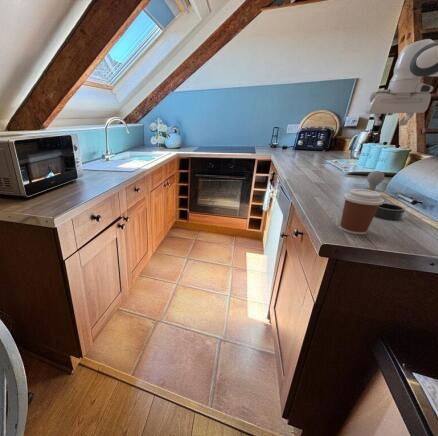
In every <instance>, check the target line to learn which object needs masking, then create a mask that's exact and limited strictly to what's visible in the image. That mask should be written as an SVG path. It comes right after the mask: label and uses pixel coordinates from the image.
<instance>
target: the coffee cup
mask: <svg viewBox="0 0 438 436" xmlns="http://www.w3.org/2000/svg"><path fill="white" fill-rule="evenodd" d="M342 198H343V200H344V204H343V208H342V214H341V219H340V224H339V229H340V230H342V231H344V232H346V233H350V234H354V235H366V233H367V232H368V231H369V228H370V226H371V224H372V222H373V220H374V217H375V216H374V215H375V213H376V211H377V209H378V207H379V205H382V204H383V203H385V200H384V199H383V198H382V194H381V192H378V191H376V190H374V191H372V190H368V189H365V188H352V189H350V190H349V191H348V192H347V193H344V195H343V196H342Z"/></svg>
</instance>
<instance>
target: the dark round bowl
mask: <svg viewBox="0 0 438 436" xmlns="http://www.w3.org/2000/svg"><path fill="white" fill-rule="evenodd" d="M405 211H406V209H405V207H402V206H400V205H397V204H392V203H386V202H384V203H383V204H382V205H379V207H378V209H377V211H376V213H375V215H374V217H375V218H378V219H381V220H386V221H400V220H402V218H403V215H404V213H405Z"/></svg>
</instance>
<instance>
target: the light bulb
mask: <svg viewBox="0 0 438 436" xmlns="http://www.w3.org/2000/svg"><path fill="white" fill-rule="evenodd" d="M366 178H367V182H368V189H367V190H372V191H376V188H377V187H378V185H380V184H381V183H382V182H383V181H384V180H385V173H384V172H382V171H380V170H374V171H371V172H370V173H368V174H367V176H366Z"/></svg>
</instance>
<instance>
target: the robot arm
mask: <svg viewBox="0 0 438 436" xmlns="http://www.w3.org/2000/svg"><path fill="white" fill-rule="evenodd" d="M422 77H438V40H437V41H434V40H432V39H431V38H424V39H420V40H416V41H413V42H411V43H408V44H407V45H405V46H404V47H403V48H402V50H401V51H400V53H399V54H398V57H397V59H396V62H395V65H394V68H393V75H392V77H391V79H390V80H389V84H388V87H387V89H377V90H375V91H373V92H372V93H371V94H370V95H369V96H370V97H369V101H368V103H367V105H366V108H365V111H364V113H365V114H366V115H373V120H374V124H373V125H374V126H381V125H382V122H383V120H380V118H381V115H383V114H384V115H385V114H387V115H388V114H405V118H404V119H403V120H400V123H399V126H407V125H408V122H409V121H410V120H411V119H413V117H414V115H415V114H423V113H425V112H426V111H427V110H428V108H429V105H430V102H431V100H432V99H431V98H432V94H431V93H432V92H433V90H434V86H432V85H430V84H426V83H423V82H421V80H422Z"/></svg>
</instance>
